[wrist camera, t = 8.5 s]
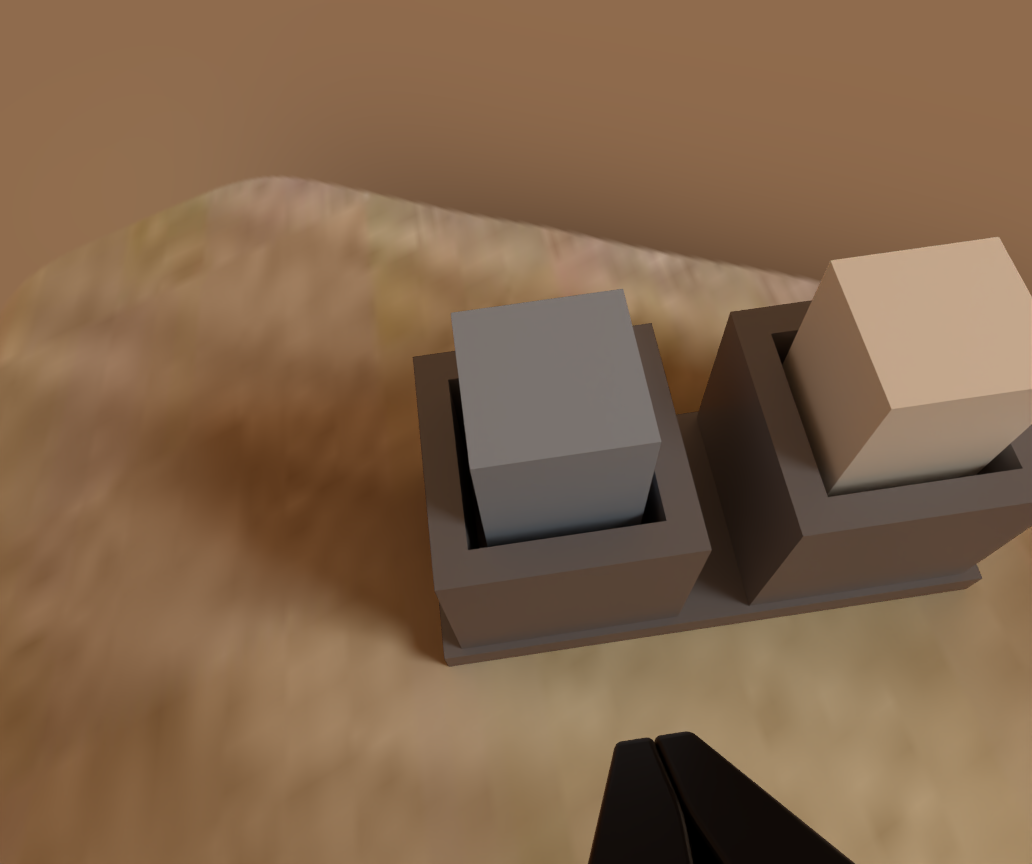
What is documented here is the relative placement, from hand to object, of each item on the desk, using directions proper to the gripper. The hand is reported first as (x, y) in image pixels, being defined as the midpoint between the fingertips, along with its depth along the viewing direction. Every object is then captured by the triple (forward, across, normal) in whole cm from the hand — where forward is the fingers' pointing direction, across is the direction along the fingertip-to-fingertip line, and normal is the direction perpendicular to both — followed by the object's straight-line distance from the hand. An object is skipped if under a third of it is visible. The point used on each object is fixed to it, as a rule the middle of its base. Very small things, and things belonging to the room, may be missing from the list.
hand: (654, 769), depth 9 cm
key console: (+15, -4, +4) cm, 16 cm away
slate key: (+13, 0, +2) cm, 13 cm away
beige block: (+13, -8, +2) cm, 16 cm away
